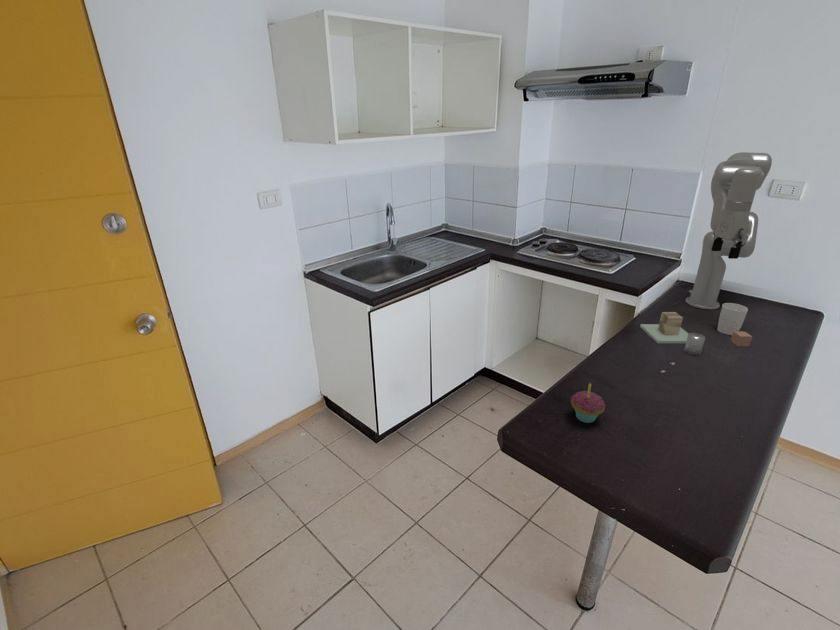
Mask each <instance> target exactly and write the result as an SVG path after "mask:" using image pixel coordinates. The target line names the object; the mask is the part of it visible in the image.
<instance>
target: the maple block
mask: <svg viewBox="0 0 840 630" xmlns="http://www.w3.org/2000/svg"><path fill="white" fill-rule="evenodd" d="M683 319H684V317H683V316H681V315H680V314H679V313H677V312H675V311H661V315H660V319H659V323H658V324H659V326H658V330H659V331H660V332H661V333H663V334H664V335H679V331H680V327H681V326H682V324H683ZM681 328H682V327H681Z"/></svg>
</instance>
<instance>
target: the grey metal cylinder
mask: <svg viewBox="0 0 840 630" xmlns="http://www.w3.org/2000/svg"><path fill="white" fill-rule="evenodd" d="M705 340H706V336H705V335H703V334H702V333H701V334H700V333H698V332H697V333H696V332H689V333H688V337H687V341H686V344H685V345H684V348H683V351H684V352H685V353H687V354H688V355H693V356H699V355H700V356H701V354H702V350H703V347H704V344H705Z"/></svg>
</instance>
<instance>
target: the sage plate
mask: <svg viewBox="0 0 840 630" xmlns="http://www.w3.org/2000/svg"><path fill="white" fill-rule="evenodd" d="M658 326H659V323H657V324H656V323H655V324H654V323H653V324H652V323H651V324H649V323H648V324H645V323H641V324H640V325H639V327H640V329H642V330H643V331H644V332H645V333H646V334H647V335H648V336H649V337H650V338H651V339H652V340H653V341H654V342H656V344H681V345H682V344H685V345H686V341H687V337H688V334H689V333H688V332H687V331H686V330H685V329H684V328H682V327H680V331H679V335H664V334H663V333H661V332H660V331H659V330H658Z"/></svg>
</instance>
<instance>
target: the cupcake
mask: <svg viewBox="0 0 840 630" xmlns="http://www.w3.org/2000/svg"><path fill="white" fill-rule="evenodd" d="M591 389H592V383H591V382H589V383H588V387H587V391H586V390H582V391H577V392H575V393H574V394H573V395H571V398H570V404H571V405H572V406H571V407H572V408H573V409H574V410H575V411H574V412H575V416H576V418H577V420H578V421H580V422H583V423H586V424H590V423H594V422H595V421H596V419H597V418H598V417H599V415H601V414H603V413H604V412H605V408H606V403H605V401H604V399H603V397H601V396H600V395H598V394H597V393H595V392H593V391H592V390H591Z"/></svg>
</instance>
